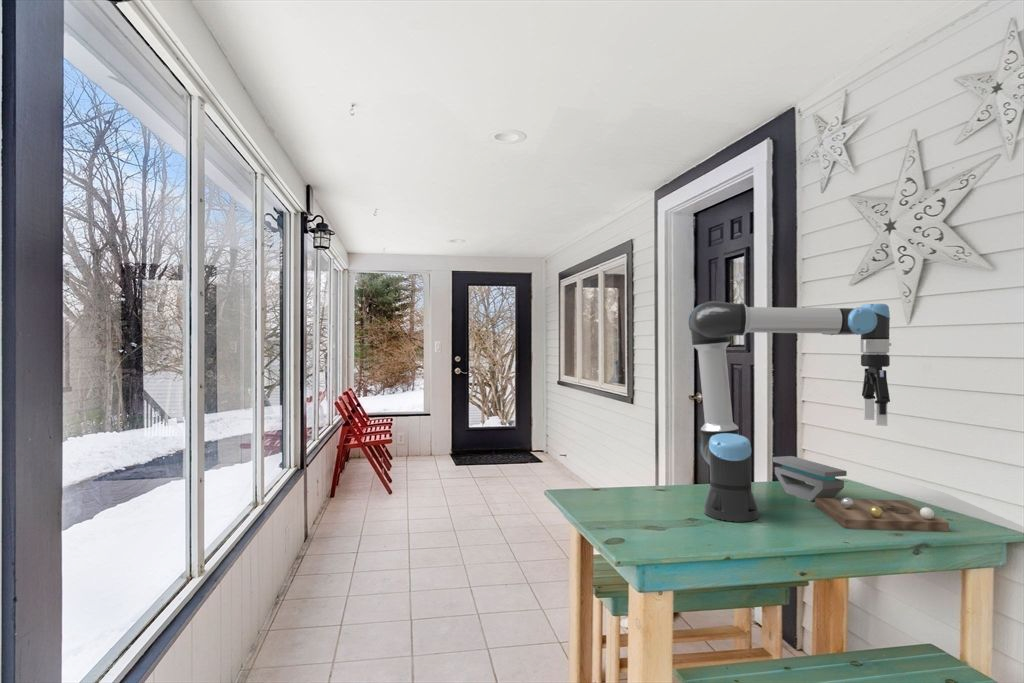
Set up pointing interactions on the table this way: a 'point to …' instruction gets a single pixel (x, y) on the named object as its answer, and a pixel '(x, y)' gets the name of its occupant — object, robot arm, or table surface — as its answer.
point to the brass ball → (875, 511)
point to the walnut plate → (893, 516)
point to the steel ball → (847, 503)
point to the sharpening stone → (808, 478)
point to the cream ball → (927, 513)
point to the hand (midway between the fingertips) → (875, 422)
